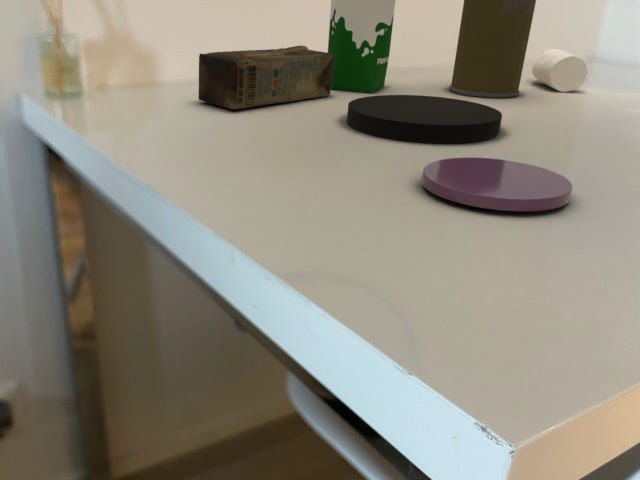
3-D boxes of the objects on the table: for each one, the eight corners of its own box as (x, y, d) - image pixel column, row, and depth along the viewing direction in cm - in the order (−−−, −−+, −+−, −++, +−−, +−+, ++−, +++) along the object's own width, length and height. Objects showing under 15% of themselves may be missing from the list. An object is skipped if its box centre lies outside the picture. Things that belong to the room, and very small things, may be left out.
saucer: (564, 181, 60) (568, 166, 59) (573, 225, 50) (578, 207, 49) (429, 166, 63) (431, 151, 63) (411, 203, 53) (414, 187, 52)
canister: (480, 99, 96) (507, -56, 87) (435, 87, 104) (455, -55, 96) (536, 96, 100) (567, -53, 91) (488, 84, 109) (512, -53, 100)
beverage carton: (334, 96, 95) (337, 48, 92) (234, 113, 83) (234, 58, 80) (294, 88, 100) (296, 42, 97) (194, 103, 88) (193, 51, 85)
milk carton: (376, 94, 98) (392, -59, 89) (318, 88, 101) (328, -60, 92) (391, 86, 105) (407, -56, 96) (336, 81, 108) (347, -57, 99)
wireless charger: (378, 145, 70) (380, 126, 69) (328, 111, 86) (329, 95, 85) (529, 141, 73) (533, 123, 73) (454, 109, 89) (456, 94, 88)
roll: (556, 80, 115) (563, 46, 112) (583, 92, 104) (592, 55, 102) (521, 79, 115) (528, 45, 112) (545, 91, 104) (553, 53, 102)
